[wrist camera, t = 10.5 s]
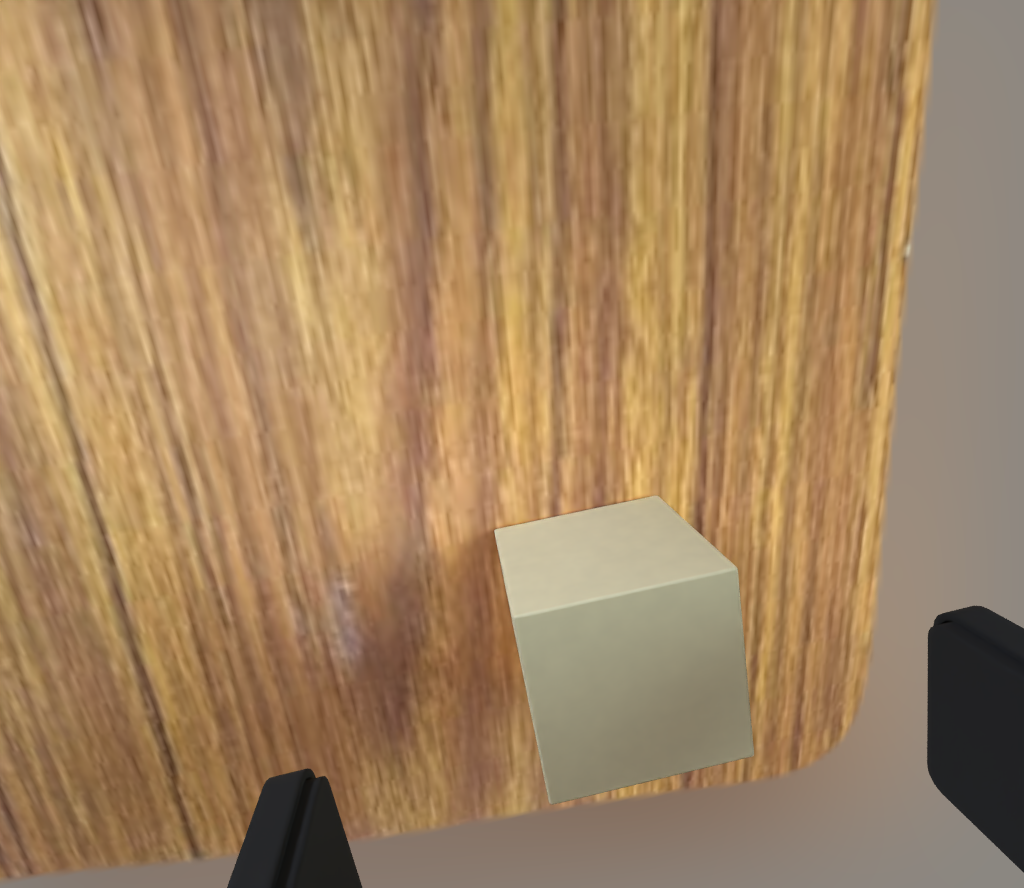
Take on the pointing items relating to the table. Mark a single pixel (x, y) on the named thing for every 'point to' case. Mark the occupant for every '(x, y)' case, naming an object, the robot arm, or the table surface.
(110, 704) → the table surface
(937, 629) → the robot arm
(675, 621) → the cube
